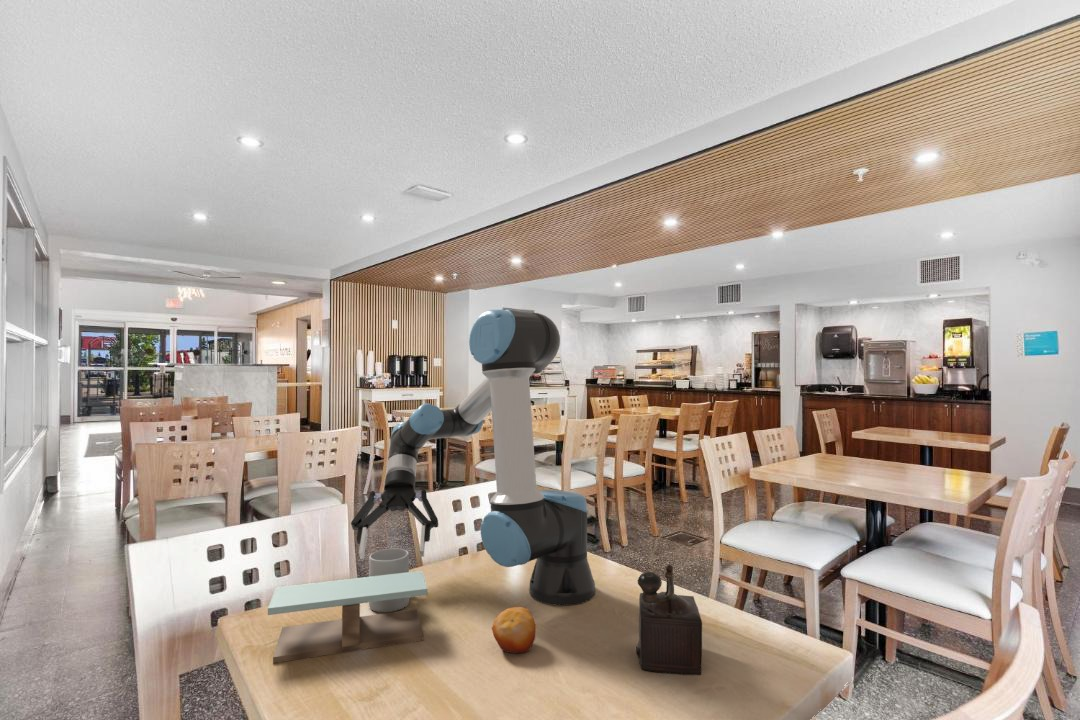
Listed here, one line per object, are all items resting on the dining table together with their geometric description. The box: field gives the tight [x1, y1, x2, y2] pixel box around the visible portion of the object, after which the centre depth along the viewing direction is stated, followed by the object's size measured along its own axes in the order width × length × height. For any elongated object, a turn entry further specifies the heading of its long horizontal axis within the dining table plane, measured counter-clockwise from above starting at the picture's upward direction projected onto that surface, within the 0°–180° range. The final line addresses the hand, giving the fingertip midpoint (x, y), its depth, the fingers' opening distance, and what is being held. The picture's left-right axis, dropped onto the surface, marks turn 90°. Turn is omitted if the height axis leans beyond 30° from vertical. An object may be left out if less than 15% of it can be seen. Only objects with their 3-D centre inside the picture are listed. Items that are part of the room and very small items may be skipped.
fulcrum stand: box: [272, 603, 424, 664], centre depth 107 cm, size 26×12×8 cm, turn 108°
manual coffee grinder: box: [635, 564, 703, 676], centre depth 96 cm, size 16×11×18 cm
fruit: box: [491, 606, 537, 654], centre depth 103 cm, size 8×8×8 cm
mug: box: [368, 547, 410, 613], centre depth 123 cm, size 12×8×11 cm
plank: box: [267, 570, 429, 616], centre depth 107 cm, size 28×10×1 cm, turn 108°
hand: (391, 555), depth 127 cm, fingers open, 13 cm apart
